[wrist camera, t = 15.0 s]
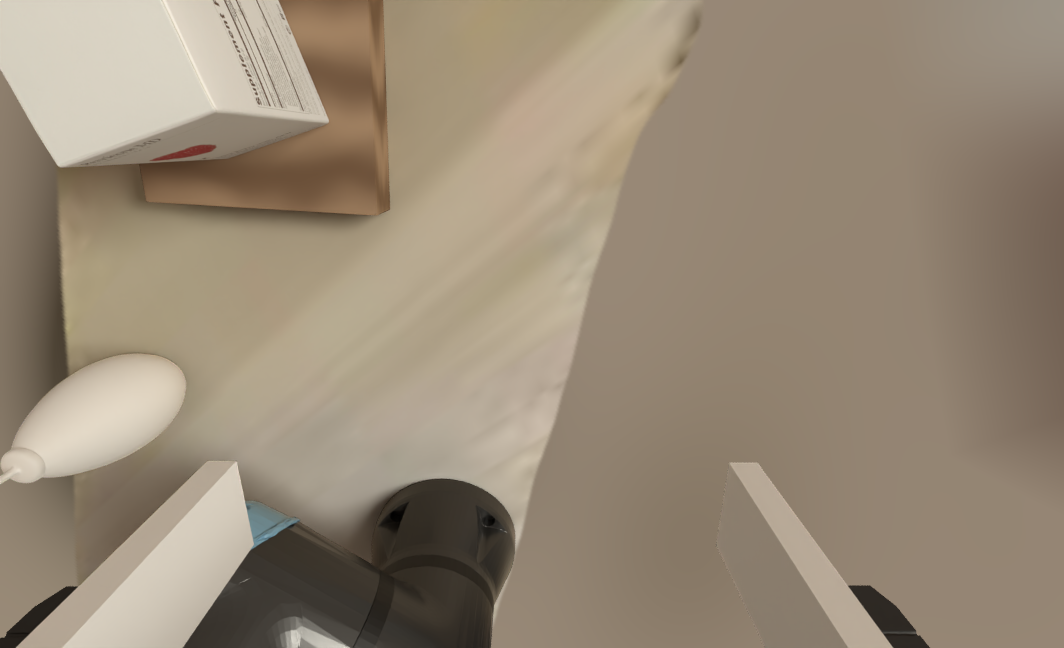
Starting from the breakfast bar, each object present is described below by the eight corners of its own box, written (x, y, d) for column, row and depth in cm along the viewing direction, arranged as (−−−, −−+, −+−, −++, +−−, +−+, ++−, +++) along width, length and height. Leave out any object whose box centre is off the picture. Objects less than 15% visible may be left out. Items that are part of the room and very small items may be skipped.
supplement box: (225, 163, 39) (51, 173, 25) (163, 36, 36) (-73, -33, 22) (334, 125, 38) (218, 115, 24) (279, -8, 35) (111, -109, 21)
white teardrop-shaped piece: (130, 324, 48) (-91, 425, 31) (215, 352, 49) (45, 464, 32) (122, 394, 50) (-88, 523, 33) (202, 419, 51) (38, 557, 34)
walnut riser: (390, 209, 44) (376, 215, 40) (179, 196, 44) (146, 201, 40) (381, -36, 38) (365, -55, 34) (137, -53, 38) (93, -74, 34)
